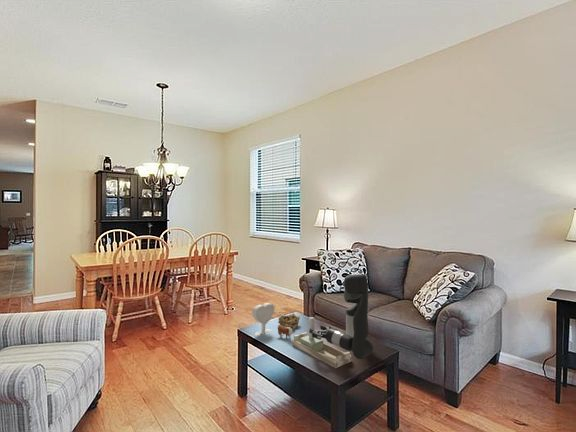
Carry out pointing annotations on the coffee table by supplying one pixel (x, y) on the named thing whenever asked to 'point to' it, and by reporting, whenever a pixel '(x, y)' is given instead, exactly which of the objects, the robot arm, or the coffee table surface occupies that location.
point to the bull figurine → (284, 331)
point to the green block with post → (312, 338)
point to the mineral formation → (289, 320)
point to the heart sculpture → (263, 315)
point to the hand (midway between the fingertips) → (315, 328)
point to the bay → (324, 352)
